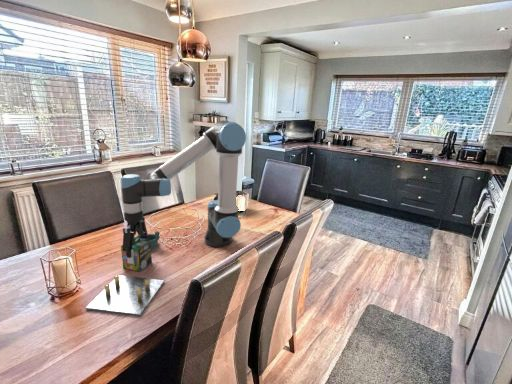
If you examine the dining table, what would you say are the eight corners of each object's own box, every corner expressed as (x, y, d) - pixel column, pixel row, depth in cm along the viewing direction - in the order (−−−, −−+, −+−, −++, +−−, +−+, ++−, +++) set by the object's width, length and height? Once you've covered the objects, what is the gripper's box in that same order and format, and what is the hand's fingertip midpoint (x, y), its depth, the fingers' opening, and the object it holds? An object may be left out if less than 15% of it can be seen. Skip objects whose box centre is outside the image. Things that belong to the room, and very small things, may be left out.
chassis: (164, 282, 115) (163, 270, 114) (140, 316, 96) (139, 303, 95) (118, 277, 117) (117, 265, 116) (86, 309, 98) (84, 296, 97)
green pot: (160, 248, 142) (159, 232, 140) (141, 251, 138) (140, 235, 135) (156, 241, 150) (156, 225, 147) (138, 244, 145) (137, 228, 143)
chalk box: (135, 258, 132) (133, 229, 127) (152, 261, 130) (150, 232, 125) (122, 268, 123) (119, 238, 119) (140, 272, 121) (137, 241, 117)
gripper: (138, 201, 130) (141, 244, 136) (109, 219, 108) (114, 269, 115) (153, 203, 129) (156, 246, 135) (127, 221, 108) (131, 271, 114)
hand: (137, 257), depth 125 cm, fingers closed on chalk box, 10 cm apart
